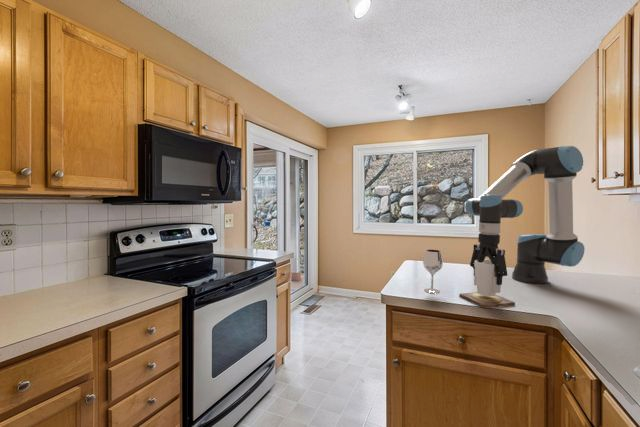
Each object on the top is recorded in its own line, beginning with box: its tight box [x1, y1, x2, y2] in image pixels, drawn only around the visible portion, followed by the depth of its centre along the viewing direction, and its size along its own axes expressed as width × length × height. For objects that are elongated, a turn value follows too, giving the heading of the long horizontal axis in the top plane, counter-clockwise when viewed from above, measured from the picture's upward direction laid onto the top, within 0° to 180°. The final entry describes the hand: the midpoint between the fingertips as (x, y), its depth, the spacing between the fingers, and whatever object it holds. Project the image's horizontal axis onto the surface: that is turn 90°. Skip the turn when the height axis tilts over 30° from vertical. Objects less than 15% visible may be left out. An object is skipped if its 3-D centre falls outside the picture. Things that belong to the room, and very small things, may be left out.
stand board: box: [459, 291, 516, 309], centre depth 127 cm, size 14×14×2 cm
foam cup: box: [473, 258, 498, 296], centre depth 126 cm, size 10×9×13 cm
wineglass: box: [422, 249, 444, 294], centre depth 138 cm, size 8×8×18 cm
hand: (486, 288), depth 127 cm, fingers closed on foam cup, 9 cm apart
